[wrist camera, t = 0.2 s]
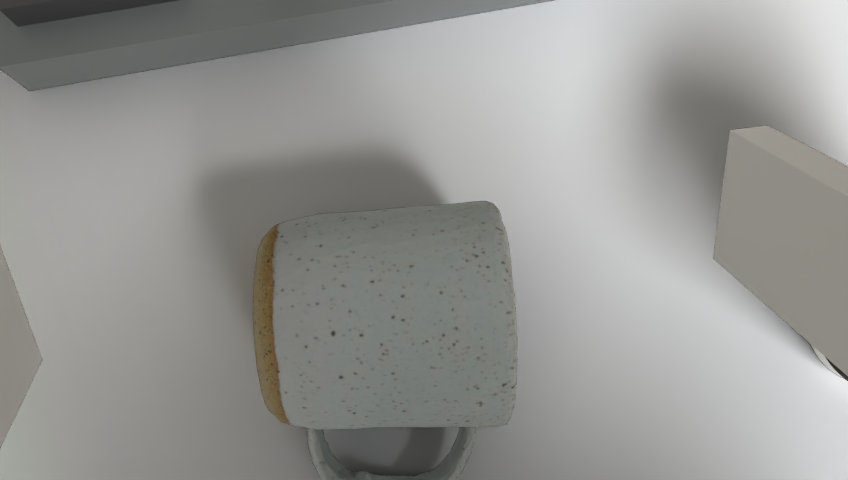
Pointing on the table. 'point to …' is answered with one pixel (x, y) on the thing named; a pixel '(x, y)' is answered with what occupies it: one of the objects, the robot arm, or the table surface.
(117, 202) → the table surface
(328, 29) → the button board
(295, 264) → the ceramic mug
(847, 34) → the table surface
